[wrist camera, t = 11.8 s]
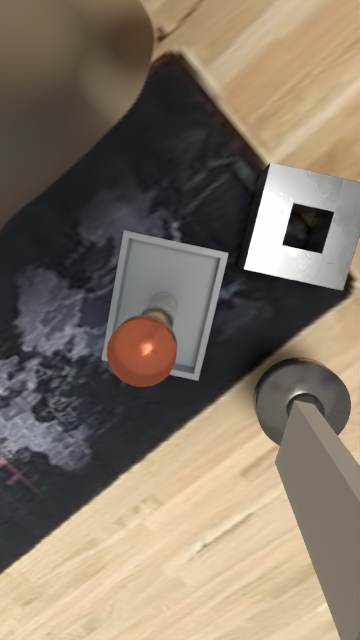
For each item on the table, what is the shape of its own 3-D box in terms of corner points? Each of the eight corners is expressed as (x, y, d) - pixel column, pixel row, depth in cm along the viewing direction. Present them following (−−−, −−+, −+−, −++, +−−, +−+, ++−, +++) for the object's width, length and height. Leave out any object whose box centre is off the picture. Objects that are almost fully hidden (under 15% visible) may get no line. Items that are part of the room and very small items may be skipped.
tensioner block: (259, 175, 33) (270, 162, 28) (348, 194, 33) (375, 185, 28) (236, 266, 35) (244, 269, 30) (321, 284, 35) (342, 290, 30)
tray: (128, 231, 35) (123, 230, 32) (225, 252, 35) (228, 253, 32) (107, 352, 38) (101, 359, 35) (197, 371, 38) (198, 380, 35)
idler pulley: (253, 333, 37) (273, 359, 28) (326, 348, 37) (368, 379, 28) (235, 400, 38) (248, 445, 30) (305, 415, 38) (338, 464, 30)
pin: (149, 282, 35) (112, 313, 19) (186, 291, 35) (182, 328, 19) (141, 319, 36) (101, 378, 20) (178, 327, 36) (168, 393, 20)
